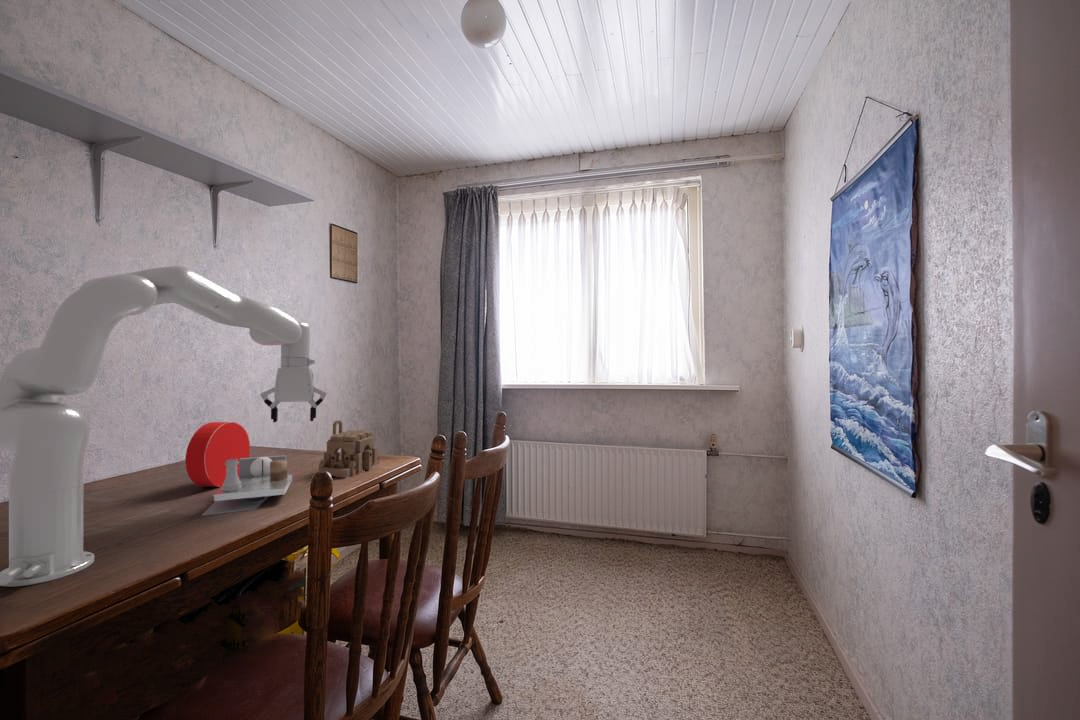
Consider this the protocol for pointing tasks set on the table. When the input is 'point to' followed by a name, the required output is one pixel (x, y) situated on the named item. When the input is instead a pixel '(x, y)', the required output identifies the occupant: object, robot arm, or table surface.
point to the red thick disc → (215, 452)
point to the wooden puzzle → (349, 452)
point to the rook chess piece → (231, 476)
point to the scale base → (246, 470)
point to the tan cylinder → (278, 470)
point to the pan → (255, 489)
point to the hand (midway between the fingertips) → (293, 421)
